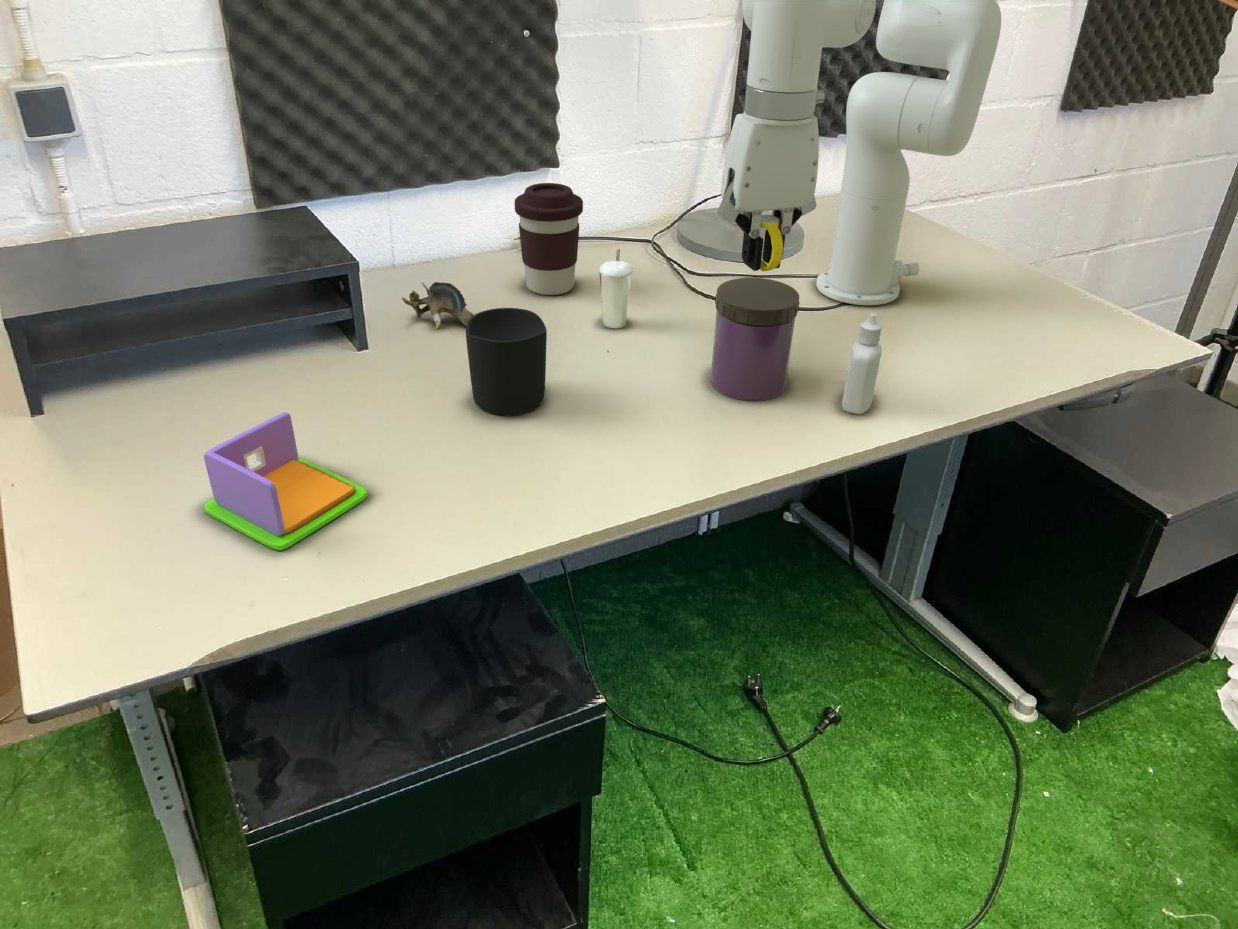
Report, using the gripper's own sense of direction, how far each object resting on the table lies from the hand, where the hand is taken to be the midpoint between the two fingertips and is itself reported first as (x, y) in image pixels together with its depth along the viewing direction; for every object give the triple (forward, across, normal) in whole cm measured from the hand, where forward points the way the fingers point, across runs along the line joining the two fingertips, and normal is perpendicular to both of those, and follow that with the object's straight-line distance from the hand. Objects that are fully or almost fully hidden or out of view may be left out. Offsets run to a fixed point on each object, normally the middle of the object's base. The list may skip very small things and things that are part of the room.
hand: (761, 264), depth 114 cm
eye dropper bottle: (+16, -10, +9) cm, 21 cm away
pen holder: (+16, +30, -5) cm, 34 cm away
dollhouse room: (+16, +57, +9) cm, 60 cm away
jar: (+16, 0, 0) cm, 16 cm away
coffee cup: (+16, +15, -37) cm, 43 cm away
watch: (+1, 0, 0) cm, 1 cm away
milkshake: (+16, +10, -22) cm, 29 cm away
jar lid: (+4, 0, 0) cm, 4 cm away
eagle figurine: (+16, +33, -29) cm, 47 cm away
